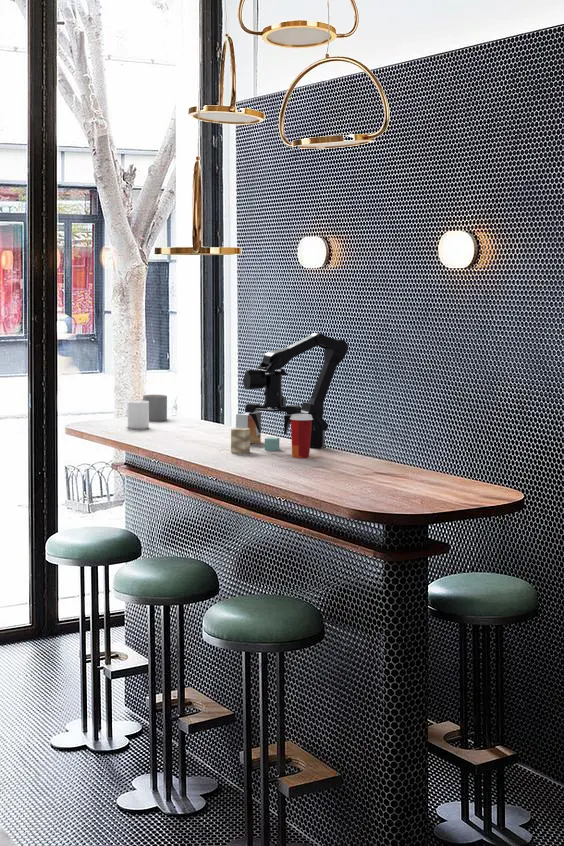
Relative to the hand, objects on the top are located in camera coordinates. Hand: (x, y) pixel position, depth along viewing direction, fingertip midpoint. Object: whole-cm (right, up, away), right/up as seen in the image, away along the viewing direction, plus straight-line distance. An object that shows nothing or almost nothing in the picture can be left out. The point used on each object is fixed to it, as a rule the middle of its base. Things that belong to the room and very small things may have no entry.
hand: (272, 433), depth 371 cm
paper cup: (+9, -8, -15) cm, 19 cm away
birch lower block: (-11, -6, -6) cm, 14 cm away
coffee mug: (-51, +5, +80) cm, 95 cm away
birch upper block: (-11, -2, -7) cm, 13 cm away
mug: (-55, +2, +53) cm, 76 cm away
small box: (-9, -4, +16) cm, 19 cm away
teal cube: (0, -6, +1) cm, 6 cm away
